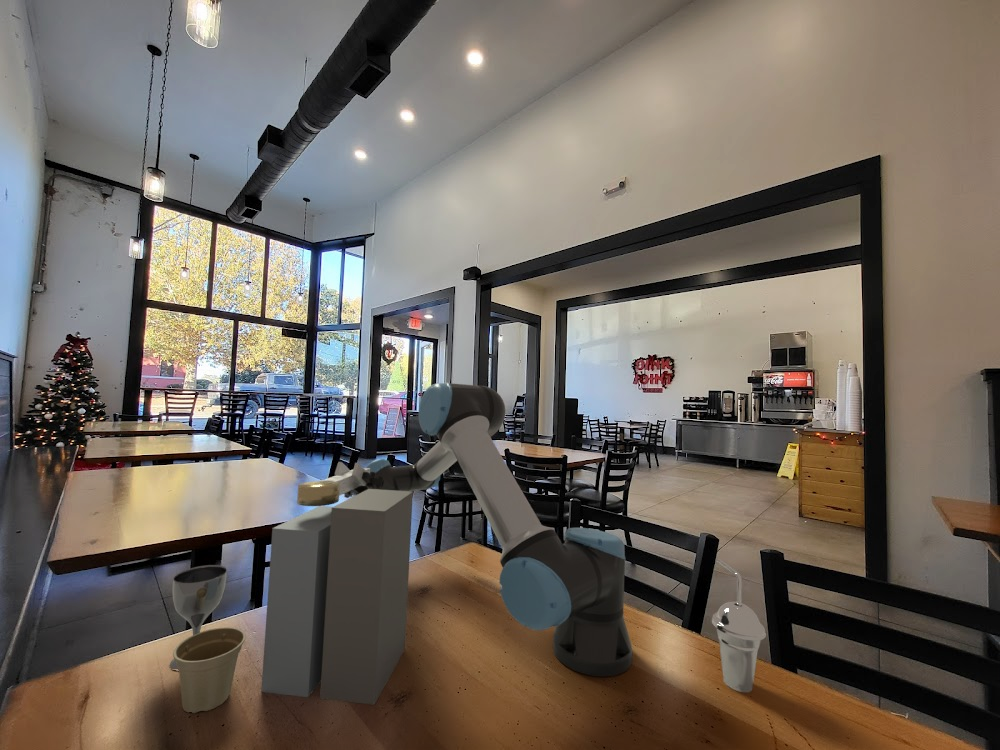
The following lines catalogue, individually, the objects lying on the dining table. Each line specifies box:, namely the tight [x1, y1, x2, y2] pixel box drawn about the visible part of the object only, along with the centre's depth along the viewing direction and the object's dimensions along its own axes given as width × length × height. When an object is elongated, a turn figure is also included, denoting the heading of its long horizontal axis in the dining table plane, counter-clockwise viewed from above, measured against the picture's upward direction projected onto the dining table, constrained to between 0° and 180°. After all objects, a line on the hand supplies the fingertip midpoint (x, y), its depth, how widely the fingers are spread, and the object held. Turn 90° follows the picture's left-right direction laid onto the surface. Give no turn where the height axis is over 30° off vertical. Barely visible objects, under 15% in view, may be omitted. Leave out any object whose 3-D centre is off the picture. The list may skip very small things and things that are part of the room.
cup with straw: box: [711, 558, 767, 693], centre depth 76 cm, size 8×9×20 cm
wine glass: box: [168, 564, 228, 670], centre depth 77 cm, size 8×8×15 cm
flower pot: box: [172, 626, 247, 714], centre depth 67 cm, size 9×9×9 cm
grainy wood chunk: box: [296, 467, 370, 507], centre depth 85 cm, size 7×23×3 cm, turn 174°
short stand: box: [260, 505, 333, 698], centre depth 76 cm, size 8×15×26 cm, turn 174°
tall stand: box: [319, 489, 414, 705], centre depth 76 cm, size 9×15×30 cm, turn 174°
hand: (346, 468), depth 88 cm, fingers closed on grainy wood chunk, 3 cm apart
